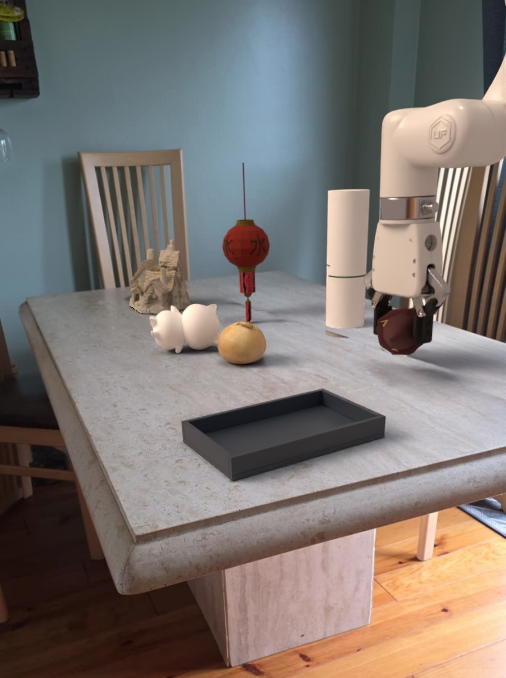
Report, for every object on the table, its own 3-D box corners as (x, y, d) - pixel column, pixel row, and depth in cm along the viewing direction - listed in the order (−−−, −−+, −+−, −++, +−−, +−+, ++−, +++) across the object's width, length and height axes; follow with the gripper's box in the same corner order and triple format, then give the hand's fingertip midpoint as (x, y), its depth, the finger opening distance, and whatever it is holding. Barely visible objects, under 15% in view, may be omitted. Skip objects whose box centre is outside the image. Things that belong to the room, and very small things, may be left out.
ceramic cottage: (147, 297, 156) (140, 235, 149) (203, 304, 149) (199, 239, 142) (108, 314, 144) (98, 247, 137) (167, 322, 137) (161, 252, 130)
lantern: (241, 330, 122) (234, 162, 110) (217, 322, 130) (208, 164, 117) (280, 323, 127) (278, 161, 114) (255, 315, 134) (250, 162, 122)
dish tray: (384, 437, 72) (386, 416, 71) (232, 481, 63) (231, 458, 62) (322, 406, 82) (322, 388, 81) (182, 441, 73) (180, 421, 72)
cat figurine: (146, 298, 105) (217, 292, 106) (152, 320, 115) (216, 314, 116) (152, 348, 104) (223, 341, 105) (157, 366, 114) (222, 359, 115)
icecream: (426, 322, 83) (440, 310, 96) (373, 306, 85) (394, 297, 98) (409, 371, 85) (425, 353, 98) (358, 355, 87) (381, 339, 100)
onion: (211, 367, 100) (209, 323, 97) (226, 353, 107) (224, 312, 104) (259, 369, 98) (258, 324, 95) (271, 355, 105) (271, 313, 102)
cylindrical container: (355, 327, 122) (360, 189, 111) (369, 335, 115) (376, 189, 105) (320, 330, 120) (322, 190, 110) (332, 339, 114) (336, 191, 104)
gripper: (476, 209, 80) (465, 344, 87) (385, 209, 94) (381, 325, 101) (434, 214, 76) (425, 354, 83) (345, 212, 90) (344, 332, 97)
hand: (401, 337), depth 92 cm, fingers closed on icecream, 7 cm apart
